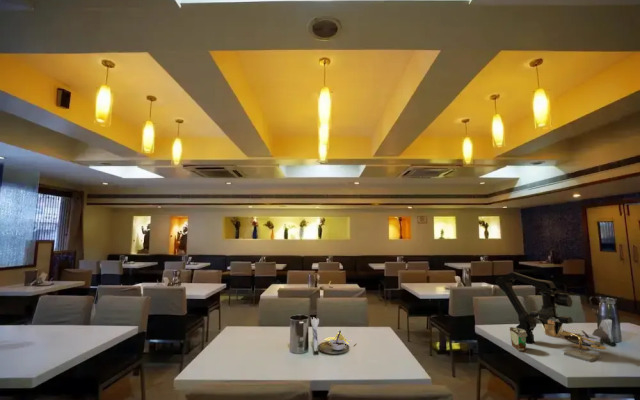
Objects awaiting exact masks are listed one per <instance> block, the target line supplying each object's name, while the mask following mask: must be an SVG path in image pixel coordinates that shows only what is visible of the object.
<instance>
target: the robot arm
mask: <svg viewBox="0 0 640 400" xmlns="http://www.w3.org/2000/svg"><path fill="white" fill-rule="evenodd" d="M514 281H518V282H521V283H525V284H527V285H530V286H533V287H535V288H536V289H538V290H539V292H538V293H537V295H539V296H541V297H542V299H541V300H542V305H541V308H540V309H539V310H531V311H530V312H529V313H528V312H527V311H526V309H525V307H524V306H523V304H522V303H521V301H520V299H519V298H518V296H517V295H516V293H515V290H514V289H513V282H514ZM495 284H496V285H497V287H498V288H499V289H500V290H501V291H503V292H504V293H505V295H506V297H507V298H508V300H509V302H510V303H511V305H512V307H513V309H514V310H515V312H516V314H517V317H518V323H519V324H517V326H516V327H515V328H519V329H523V330H525V331H526V333H527V336H526V344H532V343H536V341H535V336H534V333H533V331H534V330H535V328H537V325H538V323H537V320H538V321H540V324H541V323H542V324H543V326H544V328H545V325H544V324H548V321H549V320H555V322H554V323H555V331H556V334H558V332H559V330H560V327H561V326H562V327H563V324H572V323H573V322H574V321H573V319H572V317H571V316H567V315H560V316H558V315H559V314H558V313H557V308H558V306H559V307H566V308H571V307H572V306H573V299H572V297H571V296H570V293H561V292H560V290H559V289H558V288H557V287H556V285H555V283H554V282H553V281H551V280H548V279H547V280H545V279H538V278H534V277H531V276H527V275H524V274H521V273H519V272H516V271H513V272H512V271H511V272H510V273H508V274H505V275H503V276H499V277H497V278H496V279H495ZM535 318H536V319H535Z"/></svg>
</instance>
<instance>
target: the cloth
mask: <svg viewBox="0 0 640 400" xmlns="http://www.w3.org/2000/svg"><path fill="white" fill-rule="evenodd" d="M338 334H339V331H338V333H337V334H335V336H334V337H333V336H332V337H331V336H330V337H327V338H326V337H325V339H324V340H327V341H330V339H331V340H336V339H337V336H338ZM339 340H344V341H345V342H346V343H347V344H349V343H348V342H347V341H346V340H347V338H345V335H344V334H342V333H341V332H340V336H339ZM350 340H351V339H350ZM350 340H348V341H350Z"/></svg>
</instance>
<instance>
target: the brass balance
mask: <svg viewBox="0 0 640 400" xmlns="http://www.w3.org/2000/svg"><path fill="white" fill-rule="evenodd" d="M559 336H564V337H569V336H573V337H577V339H578V344H577V343H576V344H573V345H572V348H573V349H576V350H580V351H584V352H587V351H589V350H590V347H591V348H593V349H597V350H607V347H606V346H604V345H601V342H600V341H594V340H592V339H589V338H585V337H583V336H581V335H578V334H574V333H572V332H570V331H568V330H564V329H562V332H559ZM582 340H585V341H587V342H590V343H592V344H590V347H589V346H584V345H583V342H582Z"/></svg>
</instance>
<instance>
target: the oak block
mask: <svg viewBox="0 0 640 400" xmlns="http://www.w3.org/2000/svg"><path fill="white" fill-rule="evenodd" d="M544 325H545V332H544V333H545V336H548V335H550V336H549V337H552V336H554V338H556V337H555V336H558V337H559V336H560V335H559V332H558V334H556V331H555V324H550V323H548V324H544Z"/></svg>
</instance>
